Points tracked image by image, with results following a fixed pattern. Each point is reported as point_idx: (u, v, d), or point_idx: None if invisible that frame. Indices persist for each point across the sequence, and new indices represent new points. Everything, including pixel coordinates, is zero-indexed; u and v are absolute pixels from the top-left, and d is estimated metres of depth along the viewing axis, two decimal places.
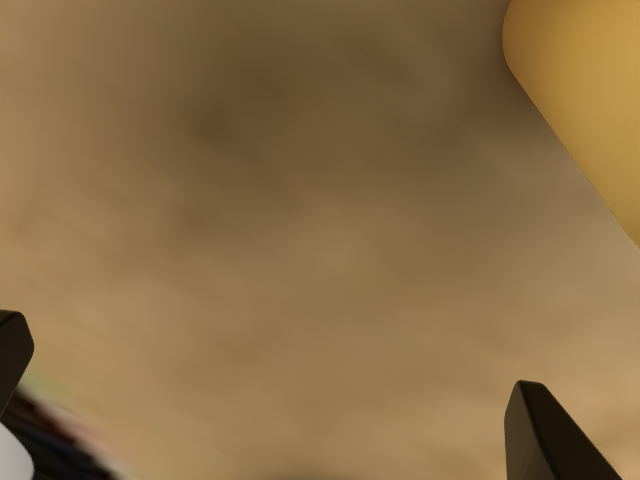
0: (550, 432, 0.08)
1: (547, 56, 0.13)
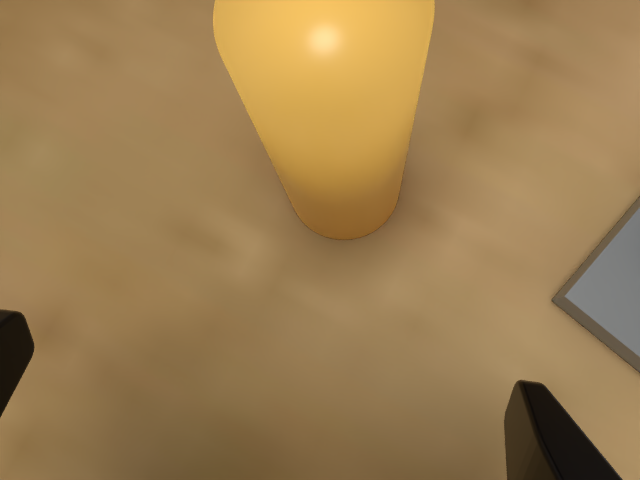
0: (550, 432, 0.08)
1: None
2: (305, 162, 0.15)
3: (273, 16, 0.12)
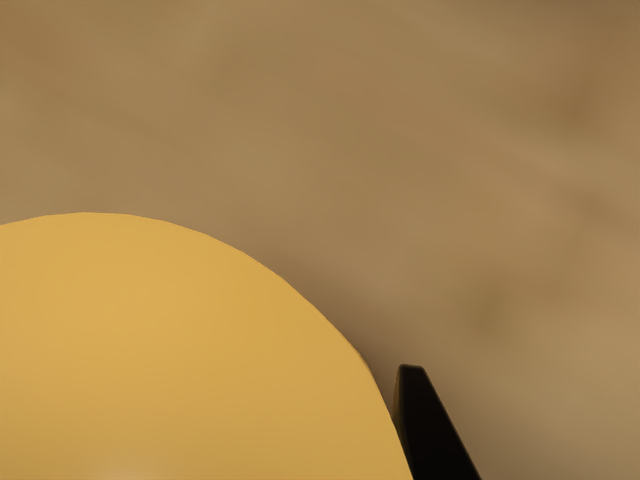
0: (413, 412, 0.08)
1: None
2: None
3: None
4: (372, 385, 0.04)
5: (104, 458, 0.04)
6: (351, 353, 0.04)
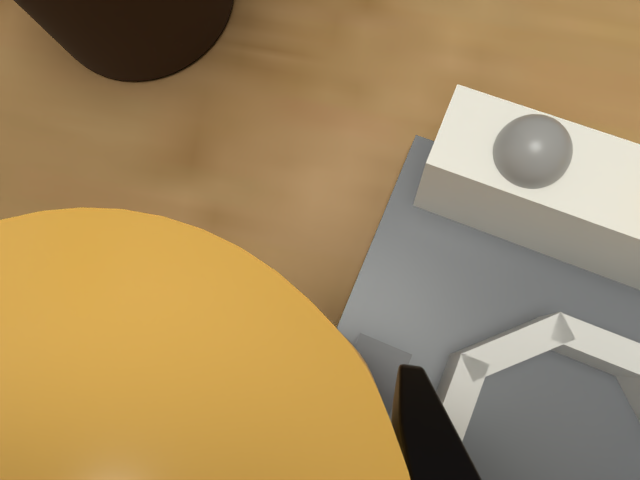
0: (413, 412, 0.08)
1: None
2: None
3: None
4: (368, 379, 0.04)
5: (102, 452, 0.04)
6: (347, 347, 0.04)
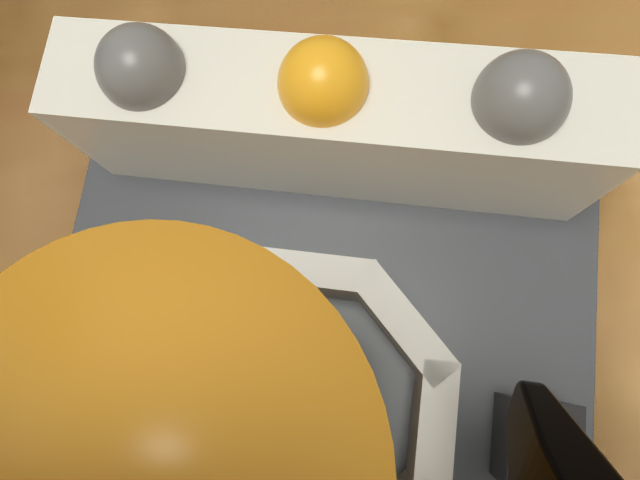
0: (551, 432, 0.08)
1: None
2: None
3: None
4: (357, 341, 0.05)
5: (165, 393, 0.05)
6: (342, 319, 0.05)
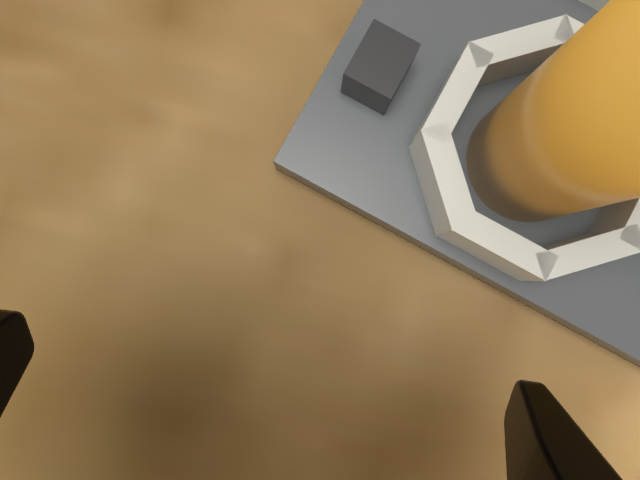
0: (550, 432, 0.08)
1: (547, 74, 0.14)
2: (627, 157, 0.12)
3: None
4: None
5: None
6: None
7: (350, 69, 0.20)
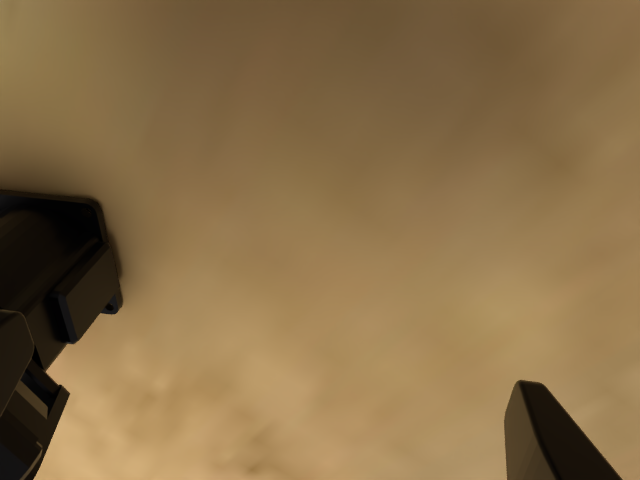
0: (550, 432, 0.08)
1: None
2: None
3: None
4: None
5: None
6: None
7: None
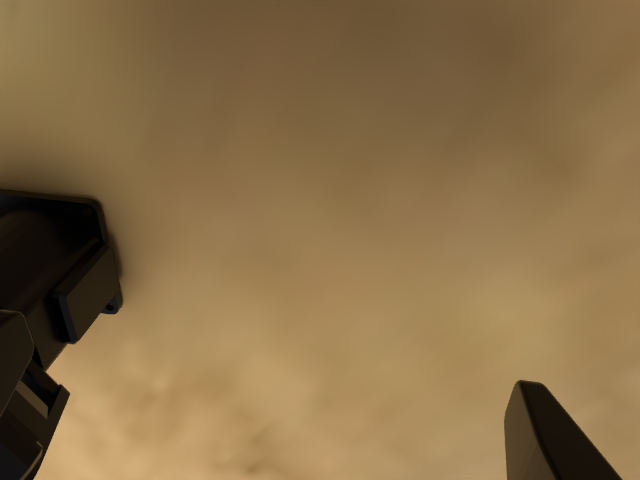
0: (550, 432, 0.08)
1: None
2: None
3: None
4: None
5: None
6: None
7: None
